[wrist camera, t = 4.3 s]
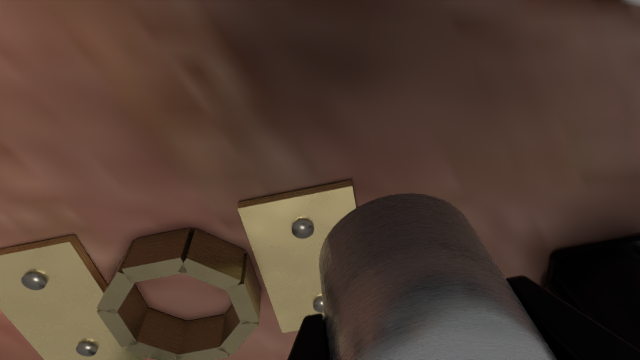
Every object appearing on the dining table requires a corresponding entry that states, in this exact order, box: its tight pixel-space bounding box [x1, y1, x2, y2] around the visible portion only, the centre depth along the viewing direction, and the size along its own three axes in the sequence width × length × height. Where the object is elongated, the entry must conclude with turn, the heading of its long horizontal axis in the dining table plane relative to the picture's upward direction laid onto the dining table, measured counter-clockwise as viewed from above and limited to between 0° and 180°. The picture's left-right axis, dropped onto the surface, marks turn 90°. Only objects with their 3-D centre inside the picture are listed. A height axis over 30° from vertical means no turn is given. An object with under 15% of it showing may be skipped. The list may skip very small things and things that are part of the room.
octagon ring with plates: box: [0, 180, 356, 360], centre depth 23 cm, size 21×10×2 cm, turn 101°
